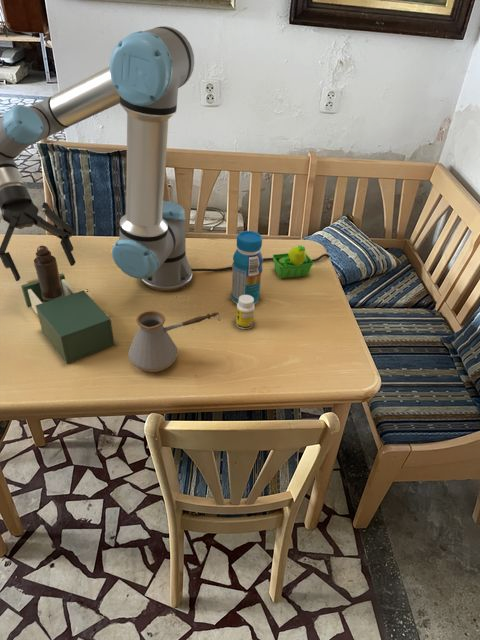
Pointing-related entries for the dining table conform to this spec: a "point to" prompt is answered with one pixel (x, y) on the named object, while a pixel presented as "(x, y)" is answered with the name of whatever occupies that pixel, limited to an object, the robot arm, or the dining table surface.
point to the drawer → (34, 292)
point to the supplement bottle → (245, 312)
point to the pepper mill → (48, 274)
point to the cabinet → (75, 326)
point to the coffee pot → (156, 341)
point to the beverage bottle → (247, 266)
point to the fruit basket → (292, 263)
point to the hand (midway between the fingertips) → (46, 271)
